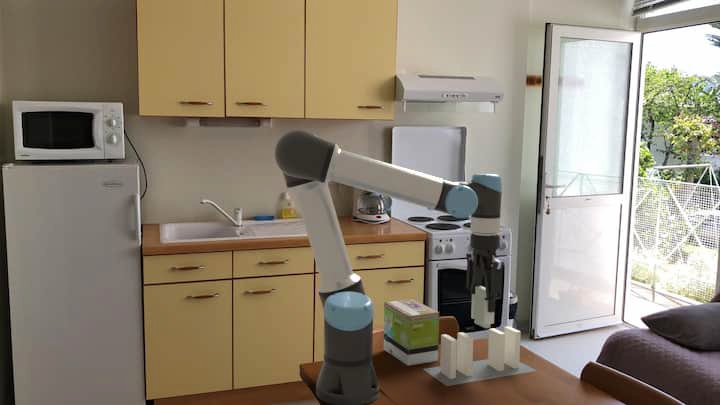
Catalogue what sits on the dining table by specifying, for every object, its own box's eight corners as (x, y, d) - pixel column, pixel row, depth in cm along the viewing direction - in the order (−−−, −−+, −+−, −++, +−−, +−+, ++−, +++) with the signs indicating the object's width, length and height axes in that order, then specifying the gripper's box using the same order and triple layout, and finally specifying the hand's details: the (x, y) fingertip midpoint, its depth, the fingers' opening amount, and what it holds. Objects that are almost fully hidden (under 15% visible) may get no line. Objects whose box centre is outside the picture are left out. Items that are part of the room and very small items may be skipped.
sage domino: (485, 328, 155) (486, 290, 154) (474, 322, 159) (475, 286, 158) (490, 327, 155) (491, 289, 154) (479, 322, 160) (480, 285, 159)
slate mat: (446, 388, 148) (446, 385, 148) (422, 371, 159) (422, 368, 158) (537, 373, 159) (537, 370, 159) (509, 357, 170) (509, 355, 170)
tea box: (382, 350, 174) (383, 301, 173) (412, 346, 178) (413, 297, 177) (407, 368, 160) (408, 314, 159) (439, 363, 165) (440, 310, 163)
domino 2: (466, 376, 154) (468, 338, 153) (456, 369, 159) (457, 332, 158) (472, 375, 155) (473, 337, 154) (461, 368, 159) (462, 332, 158)
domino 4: (514, 368, 160) (515, 332, 159) (502, 362, 164) (504, 326, 163) (519, 367, 161) (520, 331, 160) (507, 361, 165) (509, 326, 164)
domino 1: (450, 378, 152) (451, 340, 151) (440, 372, 157) (441, 334, 156) (455, 378, 153) (456, 340, 152) (445, 371, 157) (446, 334, 156)
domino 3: (498, 371, 158) (500, 334, 157) (487, 364, 162) (489, 328, 162) (503, 370, 159) (505, 333, 158) (492, 363, 163) (494, 328, 162)
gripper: (519, 237, 148) (515, 328, 151) (477, 228, 165) (474, 310, 167) (494, 239, 145) (490, 332, 148) (454, 229, 162) (451, 313, 164)
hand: (482, 320), depth 157 cm, fingers closed on sage domino, 5 cm apart
